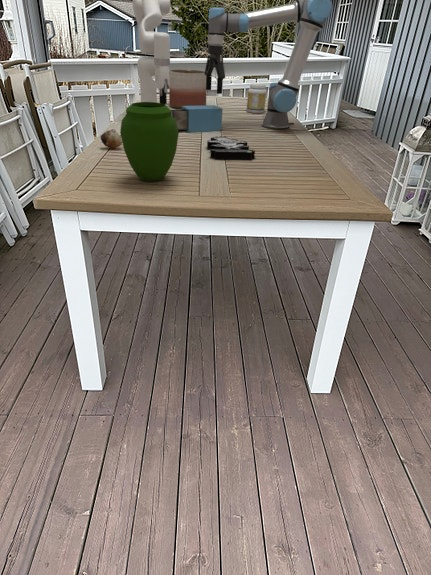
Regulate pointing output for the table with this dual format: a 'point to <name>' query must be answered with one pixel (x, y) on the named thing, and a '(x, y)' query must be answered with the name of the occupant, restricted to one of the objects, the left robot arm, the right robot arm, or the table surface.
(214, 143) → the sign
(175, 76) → the planter
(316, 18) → the right robot arm
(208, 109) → the blue storage bin
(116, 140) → the seashell
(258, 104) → the supplement tub
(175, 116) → the drawer
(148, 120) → the vase
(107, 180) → the table surface
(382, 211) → the table surface
